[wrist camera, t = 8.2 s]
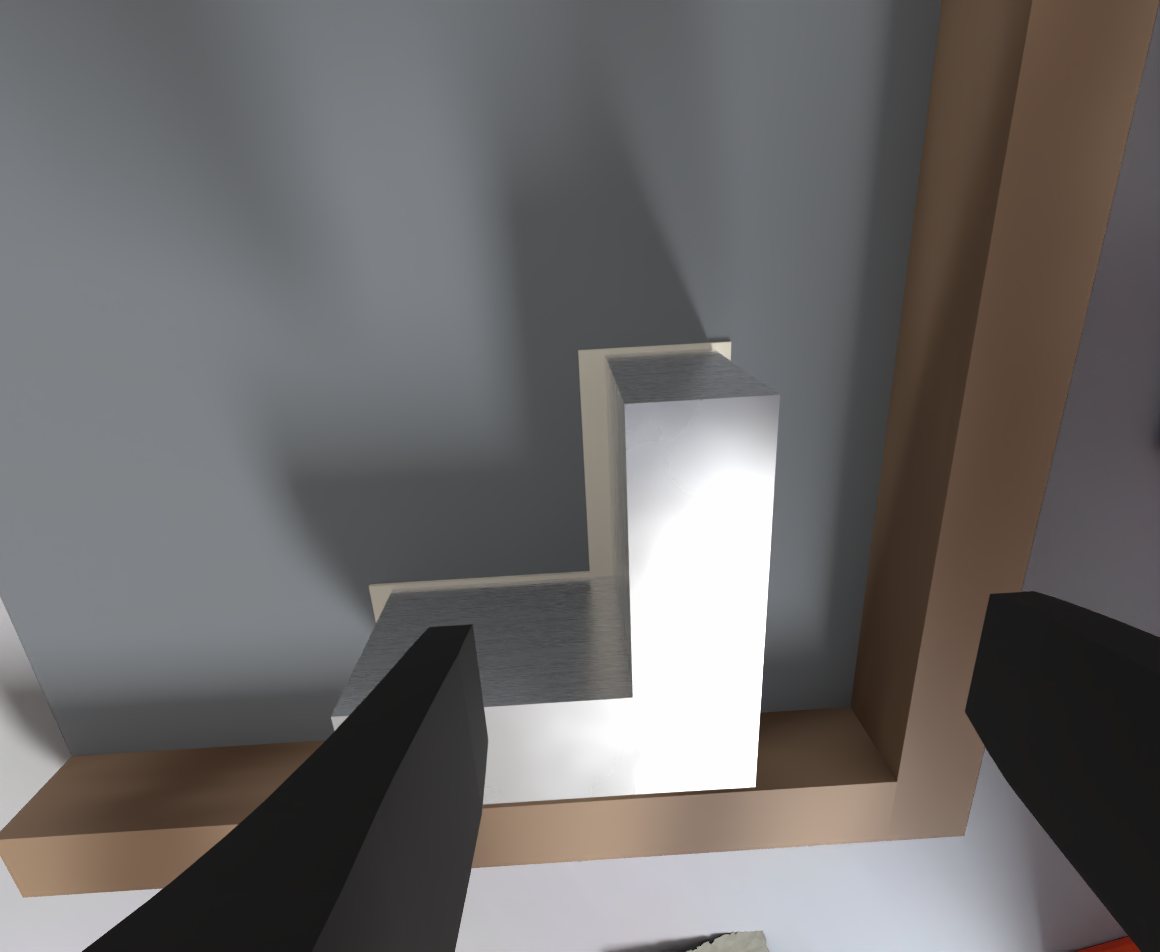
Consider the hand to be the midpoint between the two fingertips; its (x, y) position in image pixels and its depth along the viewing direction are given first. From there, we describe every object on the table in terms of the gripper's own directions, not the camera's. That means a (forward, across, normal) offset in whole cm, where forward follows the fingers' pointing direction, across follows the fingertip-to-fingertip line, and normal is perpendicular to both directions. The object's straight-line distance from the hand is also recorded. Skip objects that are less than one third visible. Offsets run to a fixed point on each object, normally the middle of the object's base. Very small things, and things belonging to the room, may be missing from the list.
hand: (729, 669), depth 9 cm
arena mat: (+7, +5, -2) cm, 9 cm away
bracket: (+7, +3, +1) cm, 7 cm away
